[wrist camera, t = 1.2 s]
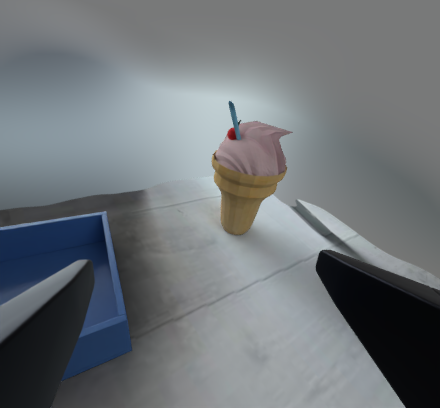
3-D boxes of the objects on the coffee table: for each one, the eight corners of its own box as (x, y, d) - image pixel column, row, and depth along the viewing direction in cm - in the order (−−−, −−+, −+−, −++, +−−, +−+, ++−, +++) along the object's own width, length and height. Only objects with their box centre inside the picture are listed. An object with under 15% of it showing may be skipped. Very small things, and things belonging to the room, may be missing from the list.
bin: (132, 350, 21) (127, 319, 18) (-128, 463, 14) (-198, 440, 11) (110, 240, 32) (106, 211, 30) (-37, 270, 25) (-61, 236, 23)
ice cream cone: (238, 259, 32) (274, 115, 22) (190, 221, 38) (201, 94, 28) (278, 231, 40) (319, 112, 29) (232, 203, 46) (254, 96, 35)
